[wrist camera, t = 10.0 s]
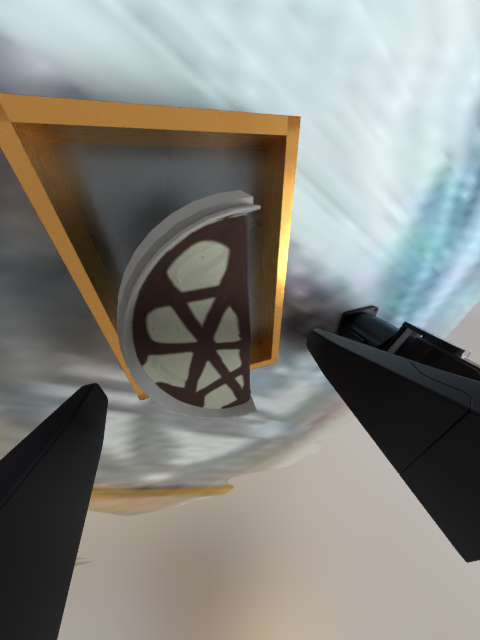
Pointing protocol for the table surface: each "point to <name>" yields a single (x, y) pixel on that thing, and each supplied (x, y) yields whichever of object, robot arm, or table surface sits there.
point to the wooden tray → (152, 190)
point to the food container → (191, 310)
